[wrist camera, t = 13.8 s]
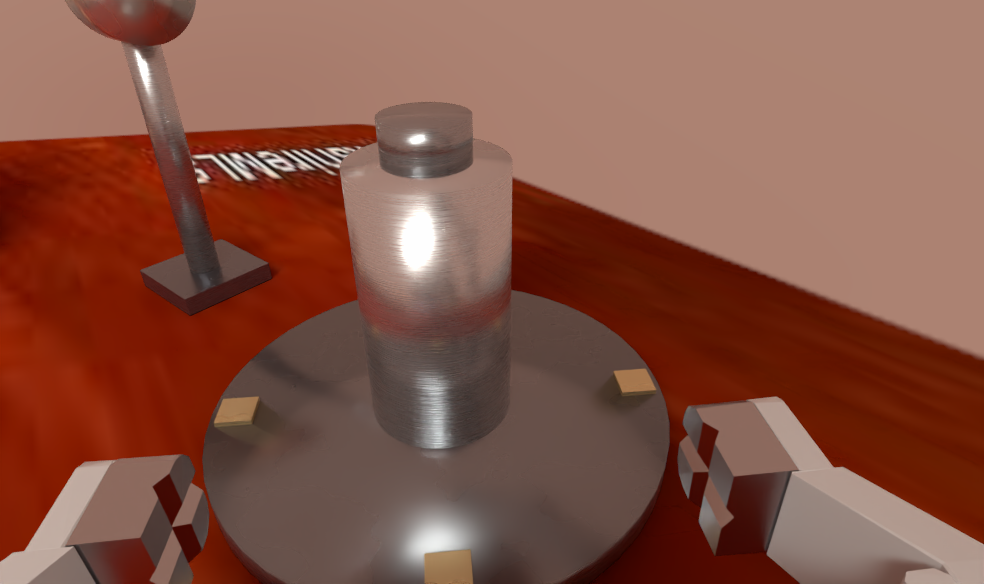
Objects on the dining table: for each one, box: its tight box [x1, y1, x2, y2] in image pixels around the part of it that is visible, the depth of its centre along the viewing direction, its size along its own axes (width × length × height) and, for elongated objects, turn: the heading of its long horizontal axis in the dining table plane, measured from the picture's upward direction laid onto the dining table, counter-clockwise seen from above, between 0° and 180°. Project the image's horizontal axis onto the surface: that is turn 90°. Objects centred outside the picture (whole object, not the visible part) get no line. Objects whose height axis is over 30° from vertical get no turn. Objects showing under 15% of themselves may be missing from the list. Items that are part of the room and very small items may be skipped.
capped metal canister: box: [340, 102, 512, 449], centre depth 22 cm, size 6×6×12 cm
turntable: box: [203, 290, 670, 584], centre depth 26 cm, size 18×18×1 cm
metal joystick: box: [65, 0, 272, 315], centre depth 31 cm, size 5×5×18 cm
